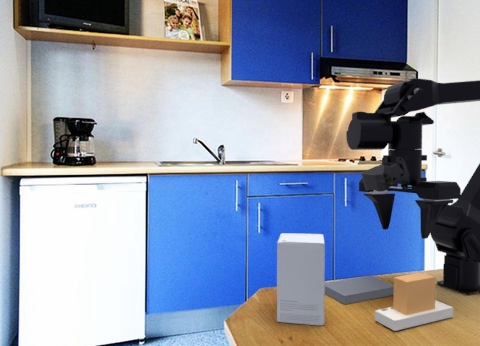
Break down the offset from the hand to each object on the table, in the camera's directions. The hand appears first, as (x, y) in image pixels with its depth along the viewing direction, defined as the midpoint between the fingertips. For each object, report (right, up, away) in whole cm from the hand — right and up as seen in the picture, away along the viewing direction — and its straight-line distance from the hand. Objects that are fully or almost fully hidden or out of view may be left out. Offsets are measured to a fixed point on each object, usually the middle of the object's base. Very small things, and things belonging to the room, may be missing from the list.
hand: (403, 233), depth 70 cm
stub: (-3, -11, -12) cm, 17 cm away
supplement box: (-21, -12, -9) cm, 26 cm away
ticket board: (-8, -11, 0) cm, 14 cm away
